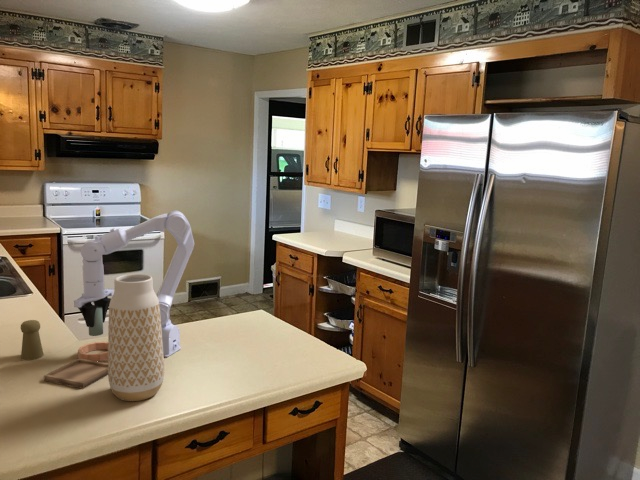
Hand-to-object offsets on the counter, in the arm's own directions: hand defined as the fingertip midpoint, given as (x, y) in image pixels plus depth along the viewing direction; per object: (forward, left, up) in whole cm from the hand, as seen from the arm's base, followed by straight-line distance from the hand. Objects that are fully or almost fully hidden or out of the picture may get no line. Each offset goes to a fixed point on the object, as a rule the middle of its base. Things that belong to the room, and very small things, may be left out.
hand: (95, 324), depth 162 cm
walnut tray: (-6, +13, -10) cm, 17 cm away
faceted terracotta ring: (0, -1, -10) cm, 10 cm away
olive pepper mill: (+17, +7, -10) cm, 21 cm away
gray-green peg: (0, 0, -3) cm, 3 cm away
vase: (-27, +16, -10) cm, 33 cm away
